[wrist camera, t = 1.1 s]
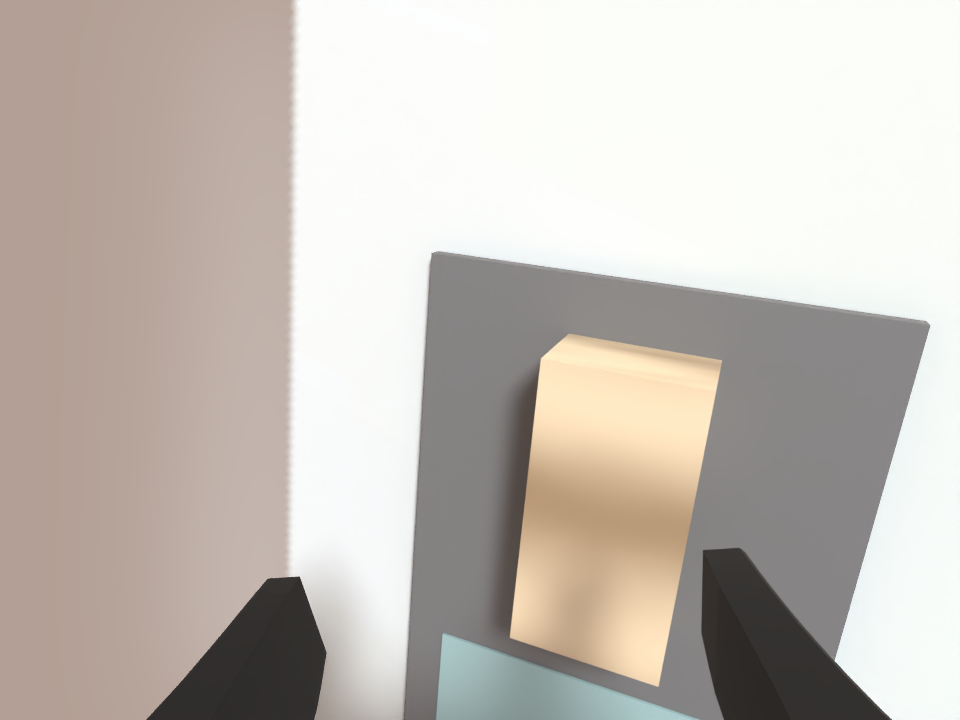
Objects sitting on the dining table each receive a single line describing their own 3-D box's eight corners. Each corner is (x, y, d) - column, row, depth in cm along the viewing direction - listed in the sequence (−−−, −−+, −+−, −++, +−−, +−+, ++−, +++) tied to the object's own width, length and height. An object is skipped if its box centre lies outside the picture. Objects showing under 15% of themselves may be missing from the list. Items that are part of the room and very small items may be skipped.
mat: (746, 956, 25) (745, 973, 25) (404, 806, 30) (397, 818, 29) (925, 321, 18) (930, 326, 18) (438, 251, 23) (430, 253, 22)
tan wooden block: (670, 624, 22) (658, 687, 20) (537, 584, 24) (509, 637, 21) (722, 360, 20) (716, 391, 17) (568, 333, 21) (540, 358, 18)
